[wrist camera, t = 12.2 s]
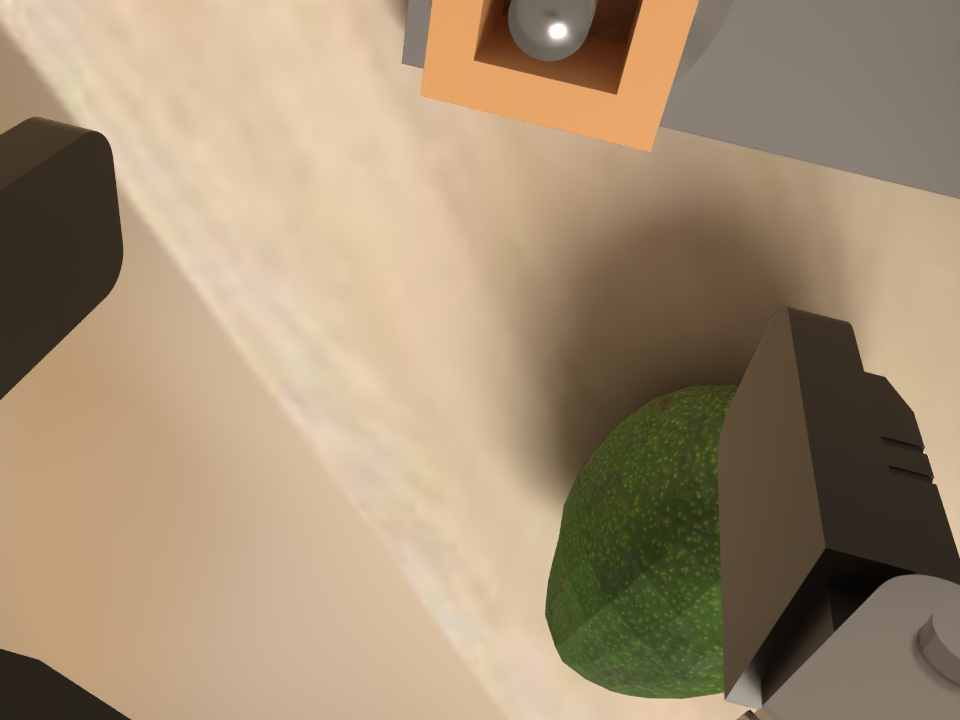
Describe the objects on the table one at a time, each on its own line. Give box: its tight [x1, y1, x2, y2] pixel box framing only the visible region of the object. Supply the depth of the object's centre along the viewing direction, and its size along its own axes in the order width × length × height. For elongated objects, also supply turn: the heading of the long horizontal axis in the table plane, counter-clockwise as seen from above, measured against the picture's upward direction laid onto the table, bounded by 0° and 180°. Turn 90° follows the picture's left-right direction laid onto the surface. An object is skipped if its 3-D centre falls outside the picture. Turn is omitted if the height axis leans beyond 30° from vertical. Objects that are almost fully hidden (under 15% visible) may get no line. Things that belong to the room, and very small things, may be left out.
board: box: [402, 0, 960, 199], centre depth 23 cm, size 21×8×2 cm, turn 81°
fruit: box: [545, 384, 740, 699], centre depth 31 cm, size 15×10×10 cm, turn 152°
